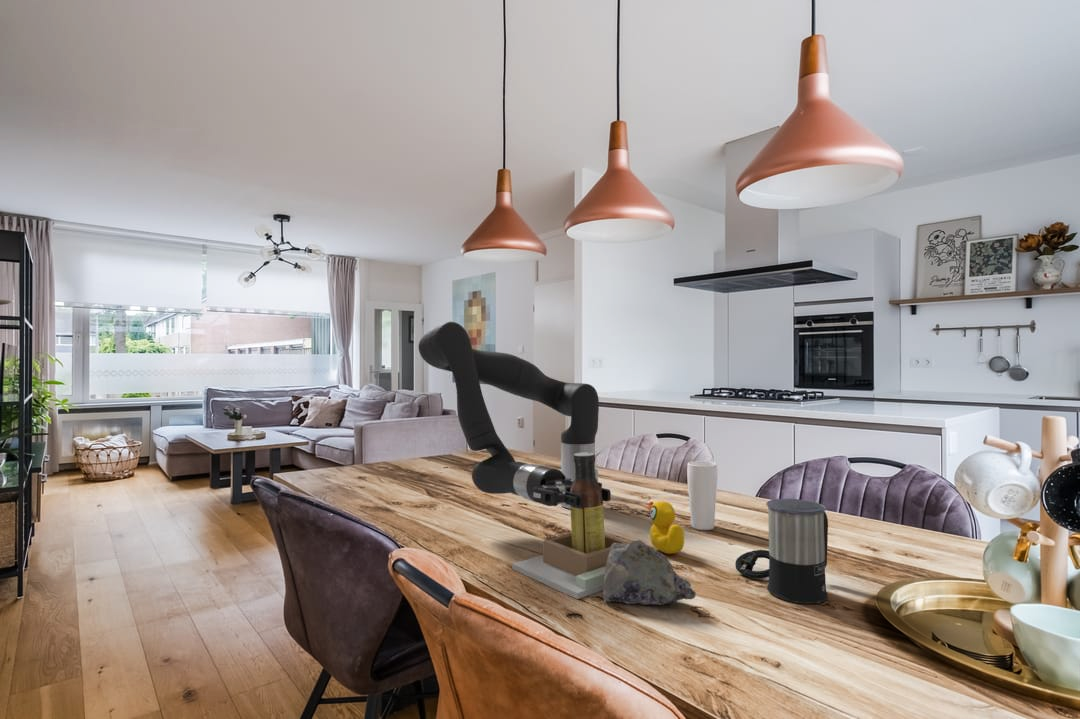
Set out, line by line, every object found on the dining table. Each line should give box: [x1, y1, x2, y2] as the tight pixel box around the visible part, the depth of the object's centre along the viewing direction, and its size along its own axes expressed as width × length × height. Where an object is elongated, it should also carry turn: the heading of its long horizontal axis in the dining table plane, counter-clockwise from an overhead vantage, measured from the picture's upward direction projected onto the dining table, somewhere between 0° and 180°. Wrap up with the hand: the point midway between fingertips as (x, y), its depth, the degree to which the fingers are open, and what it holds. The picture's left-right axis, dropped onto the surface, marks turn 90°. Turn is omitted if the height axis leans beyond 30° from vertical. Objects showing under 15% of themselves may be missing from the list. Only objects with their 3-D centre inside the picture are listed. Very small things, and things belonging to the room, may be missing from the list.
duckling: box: [648, 500, 685, 555], centre depth 116 cm, size 11×5×10 cm, turn 19°
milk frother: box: [734, 498, 829, 605], centre depth 98 cm, size 14×16×15 cm
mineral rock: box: [602, 539, 697, 606], centre depth 91 cm, size 13×11×10 cm
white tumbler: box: [686, 460, 718, 531], centre depth 133 cm, size 7×7×15 cm
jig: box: [511, 532, 632, 600], centre depth 107 cm, size 22×18×5 cm
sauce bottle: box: [569, 452, 606, 554], centre depth 107 cm, size 7×6×20 cm
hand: (595, 498), depth 105 cm, fingers open, 6 cm apart
